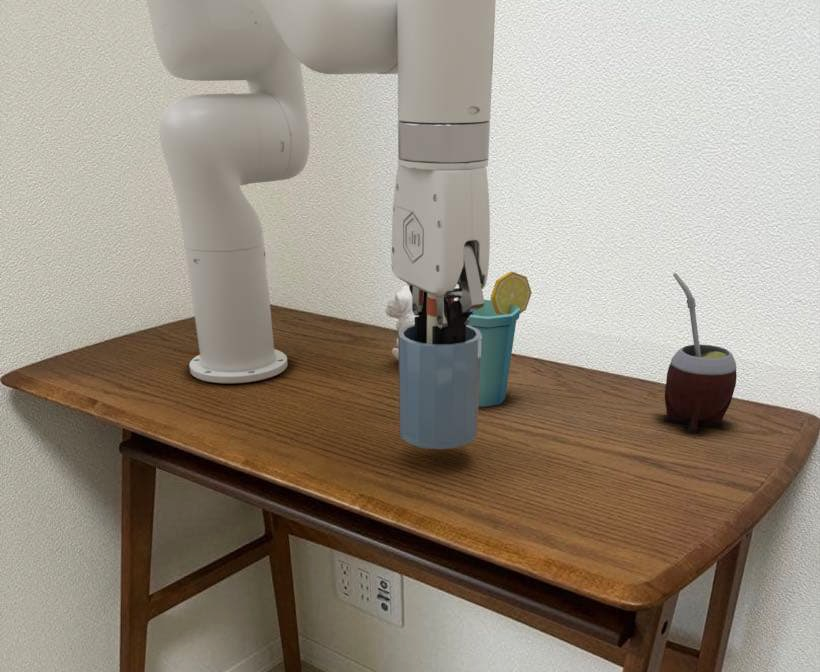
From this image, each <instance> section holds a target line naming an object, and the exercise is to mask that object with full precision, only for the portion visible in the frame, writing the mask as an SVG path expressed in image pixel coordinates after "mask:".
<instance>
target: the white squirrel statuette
mask: <svg viewBox="0 0 820 672" xmlns="http://www.w3.org/2000/svg"><path fill="white" fill-rule="evenodd" d="M384 313H385V315H386V316H387V317H388V316H389V317H390V318H395V319H398V320H397V322H396V326H395V328H396V330H397V331H398V332H399V331H400V330H401V329H402V328H404V327H406V326H409V325H412V324H415V317H418V316H419V315H418V316H415V315H414V314H413V311H412V294H411V292H410V289H409V286H408V285H404V286H402V287H401V289H400V290H399V291H398V292H396V293H395V294H393V295H392V296H391V297H390V298H389V299H388V302H387V305H386V307H385V309H384ZM395 343H396V346H397V347H393V348H392V350H391V354H392V355H393V356H394V357H395V358H396V359H397V360H398V362H399V355H398V337H397V338H396V340H395Z"/></svg>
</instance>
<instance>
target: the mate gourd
mask: <svg viewBox="0 0 820 672" xmlns="http://www.w3.org/2000/svg"><path fill="white" fill-rule="evenodd" d="M672 276H673V278H674V279H675V280H676V282H677V283H678V285H679V286H680V288H681V289H682V290H683V292H684V295H685V296H686V299H687V300H686V305H687V309H688V311H689V317H690V326H691V333H692V334H691V335H692V340H693V344H690V345H685V346H682V347H681V348H679V350H677V351H676V353H675V354H674V355H673V356H672V358H671V360H670V363H669V366H668V368H667V372H666V381H665V386H664V387H665V388H664V402H665V408H666V414H664V415H663V421H664V422H666V423H667V422H668V423H677V424H686V425H688V433H689V434H693V435H694V434H695V435H696V434H697V433H698V428H699V426H706V427H707V426H708V427H717V428H723V427H724V425H725V421H724V420H723V418H724V417H725V415H726V414H727V411H728V409H729V407H730V405H731V403H732V400H733V396H734V394H735V389H736V385H737V362H736V359H735V356H734V355H733V354H732V352H731V351H730V350H728V349H727V348H724V347H721V346H717V345H712V344H700V339H699V338H700V337H699V329H698V323H697V315H696V306H697V305H696V304H697V303H696V299H695V297H693V294H692V292H691V289H690V288H689V287H688V285H687V284H686V283H685V281H683V279H682V278H681V277H680V275H679V274H677V272H674V273H673V274H672Z"/></svg>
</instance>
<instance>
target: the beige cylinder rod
mask: <svg viewBox="0 0 820 672" xmlns="http://www.w3.org/2000/svg"><path fill="white" fill-rule="evenodd" d="M453 301H455V298H452V299H448V307H449V306H450V304H451V303H452V302H453ZM432 326H438V325H437V308H436V296H435V295H432V294H430V293H427V344H432Z"/></svg>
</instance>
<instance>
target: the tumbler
mask: <svg viewBox="0 0 820 672" xmlns="http://www.w3.org/2000/svg"><path fill="white" fill-rule="evenodd" d="M397 334H398V335H397V336H398V337H397V338H398V346H397V348H398V355H399V361H398V428H399V437H400V439H402V440H403V441H404V442H406V443H407V444H409V445H412V446H413V447H417V448H422V449H428V450H449V449H450V450H451V449H456V448H461V447H463V446H466V445H468V444H470V443H472V442H474V440H475V439H476V438H477V434H478V429H479V408H480V406H479V387H480V365H481V343H482V334H481V332H480V330H478V329H476V328H474V327H472V326H470V325H466V340H465V342H461V343H455V344H427V343H420V342H416V341H415V324H412V325H409V326H406V327H404V328H402V329H401V330H400V331H398V332H397Z"/></svg>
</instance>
